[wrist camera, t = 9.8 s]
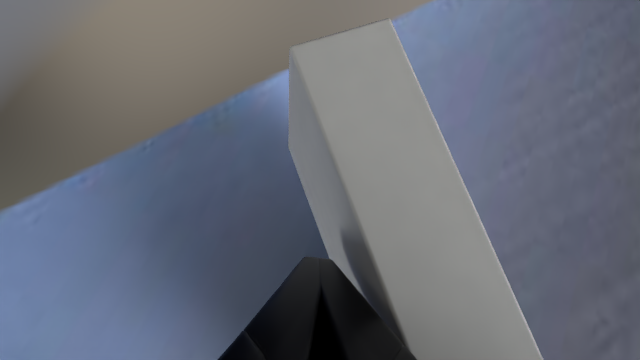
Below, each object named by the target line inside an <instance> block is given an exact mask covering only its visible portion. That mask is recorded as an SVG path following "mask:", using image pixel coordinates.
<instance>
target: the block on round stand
mask: <svg viewBox="0 0 640 360" xmlns="http://www.w3.org/2000/svg"><path fill="white" fill-rule="evenodd" d="M289 55H290V56H289V137H288V148H289V150H290V153H291V156H292V158H293V161H294V164H295V167H296V169H297V172H298V175H299V177H300V180H301V183H302V186H303V188H304V191H305V194H306V196H307V199H308V202H309V205H310V207H311V210H312V213H313V215H314V218H315V221H316V224H317V226H318V229H319V232H320V234H321V237H322V240H323V243H324V245H325V248H326V251H327V253H328V256H329V259H331V260H333V261H334V262H335V264H336V265H337V266H338V267H339V268H340V270H341V271H342V272H343V273H344V274H345V275H346V277H347V278H348V279H349V280H350V281H351V283H352V284H353V285H354V286H355V287H356V289H357V290H358V291H359V292H360V293H361V294H362V296H363V297H364V298H365V299H366V300H367V302H368V303H369V304H370V305H371V306H372V307H373V309H374V310H375V311H376V312H377V313H378V315H379V316H380V317H381V318H382V319H383V321H384V322H385V323H386V324H387V325H388V326H389V328H390V329H391V330H392V331H393V332H394V334H395V335H396V336H397V337H398V338H399V340H400V341H401V342H402V343H403V345H404V346H406V347H407V348H408V349H409V351H410V352H411V353H412V354H413V355H414V356H415V358H416V359H417V360H543V358H542V356H541V353H540V351H539V349H538V347H537V345H536V342H535V340H534V338H533V336H532V333H531V331H530V329H529V327H528V324H527V322H526V320H525V318H524V316H523V313H522V311H521V309H520V307H519V304H518V302H517V300H516V298H515V296H514V293H513V291H512V289H511V287H510V284H509V282H508V280H507V278H506V275H505V273H504V271H503V269H502V267H501V264H500V262H499V260H498V258H497V255H496V253H495V251H494V249H493V247H492V244H491V242H490V240H489V238H488V235H487V233H486V231H485V229H484V226H483V224H482V222H481V220H480V218H479V215H478V213H477V211H476V209H475V206H474V204H473V202H472V200H471V198H470V195H469V193H468V191H467V189H466V186H465V184H464V182H463V180H462V178H461V175H460V173H459V171H458V169H457V166H456V164H455V162H454V160H453V157H452V155H451V153H450V151H449V149H448V146H447V144H446V142H445V140H444V137H443V135H442V133H441V131H440V129H439V126H438V124H437V122H436V120H435V117H434V115H433V113H432V111H431V108H430V106H429V104H428V102H427V100H426V97H425V95H424V93H423V91H422V88H421V86H420V84H419V82H418V80H417V77H416V75H415V73H414V71H413V68H412V66H411V64H410V62H409V59H408V57H407V55H406V53H405V51H404V48H403V46H402V44H401V42H400V39H399V37H398V35H397V33H396V31H395V28H394V26H393V24H392V22H391V20H390V19H384V20H380V21H377V22H373V23H370V24H366V25H363V26H359V27H356V28H352V29H349V30H345V31H342V32H338V33H335V34H332V35H328V36H325V37H321V38H318V39H314V40H311V41H307V42H304V43H301V44H297V45H293V46H291V47H290V52H289Z"/></svg>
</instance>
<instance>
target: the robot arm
mask: <svg viewBox="0 0 640 360" xmlns="http://www.w3.org/2000/svg"><path fill="white" fill-rule="evenodd" d="M218 360H417V359H416V358H415V356H414V355H413V354H412V353H411V352H410V351H409V349H408V348H407V347H406V346H404V345H403V343H402V342H401V341H400V340H399V338H398V337H397V336H396V335H395V334H394V332H393V331H392V330H391V329H390V328H389V326H388V325H387V324H386V323H385V322H384V321H383V319H382V318H381V317H380V316H379V315H378V313H377V312H376V311H375V310H374V309H373V307H372V306H371V305H370V304H369V303H368V302H367V300H366V299H365V298H364V297H363V296H362V294H361V293H360V292H359V291H358V290H357V289H356V287H355V286H354V285H353V284H352V283H351V281H350V280H349V279H348V278H347V277H346V275H345V274H344V273H343V272H342V271H341V270H340V268H339V267H338V266H337V265H336V264H335V262H334V261H333V260H331V259H325V258H315V257H304V258H303V259H302V260H301V261H300V262H299V263H298V265H297V266H296V267H295V268H294V270H293V271H292V272H291V273H290V274H289V276H288V277H287V278H286V279H285V281H284V282H283V283H282V284H281V285H280V287H279V288H278V289H277V290H276V291H275V293H274V294H273V295H272V296H271V298H270V299H269V300H268V301H267V302H266V304H265V305H264V306H263V307H262V308H261V310H260V311H259V312H258V313H257V315H256V316H255V317H254V318H253V319H252V321H251V322H250V323H249V324H248V325H247V327H246V328H245V329H244V331H242V332H241V333H240V335H239V336H238V337H237V338H236V339H235V341H234V342H233V343H232V344H231V345H230V346H229V347H228V349H227V350H226V351H225V352H224V353H223V354H222V355H221V356H220V358H219V359H218Z"/></svg>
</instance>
